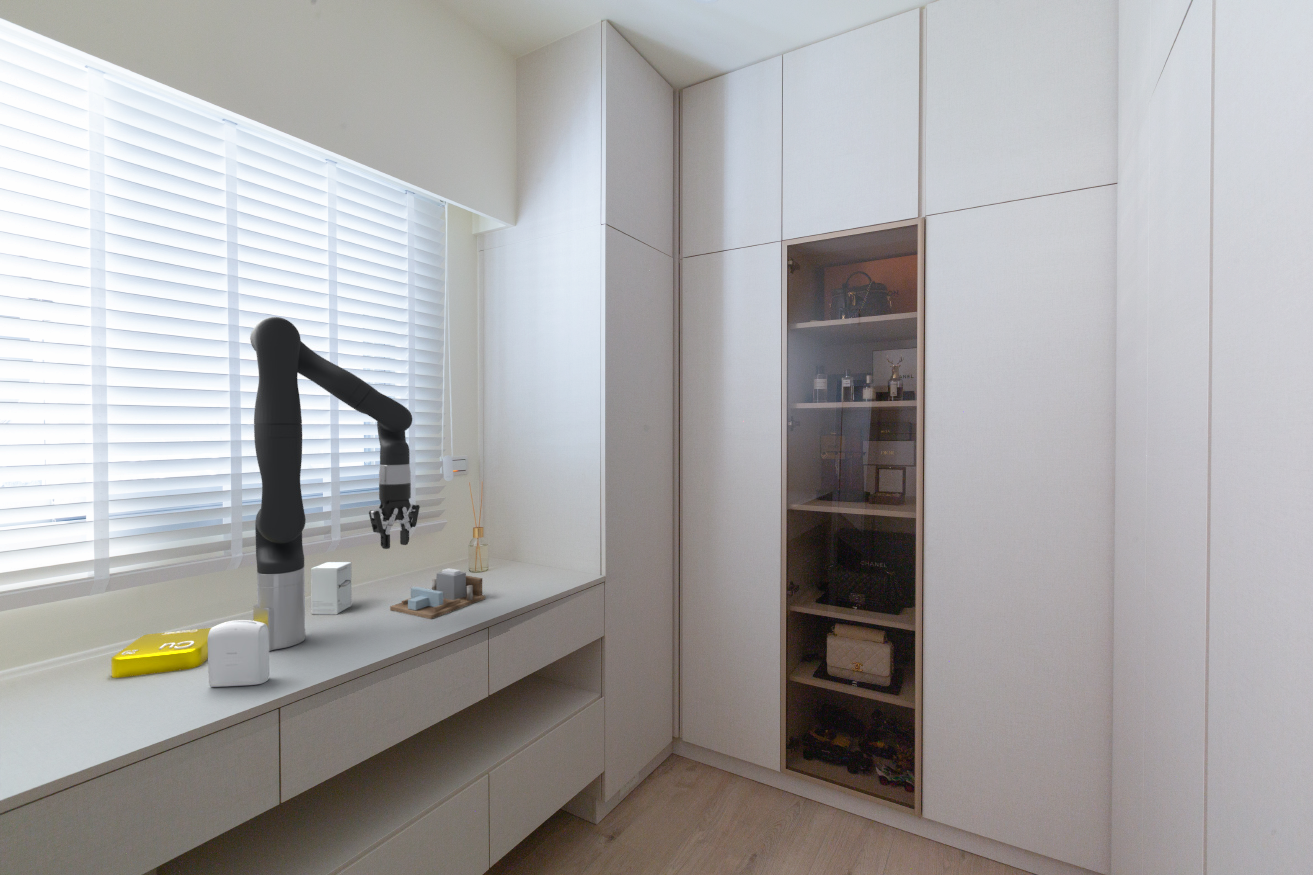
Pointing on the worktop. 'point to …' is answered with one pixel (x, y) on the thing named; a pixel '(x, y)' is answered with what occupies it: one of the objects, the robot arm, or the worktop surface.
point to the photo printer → (238, 653)
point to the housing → (446, 601)
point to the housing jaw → (424, 598)
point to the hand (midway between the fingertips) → (395, 546)
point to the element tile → (162, 653)
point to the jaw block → (451, 583)
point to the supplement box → (331, 588)
